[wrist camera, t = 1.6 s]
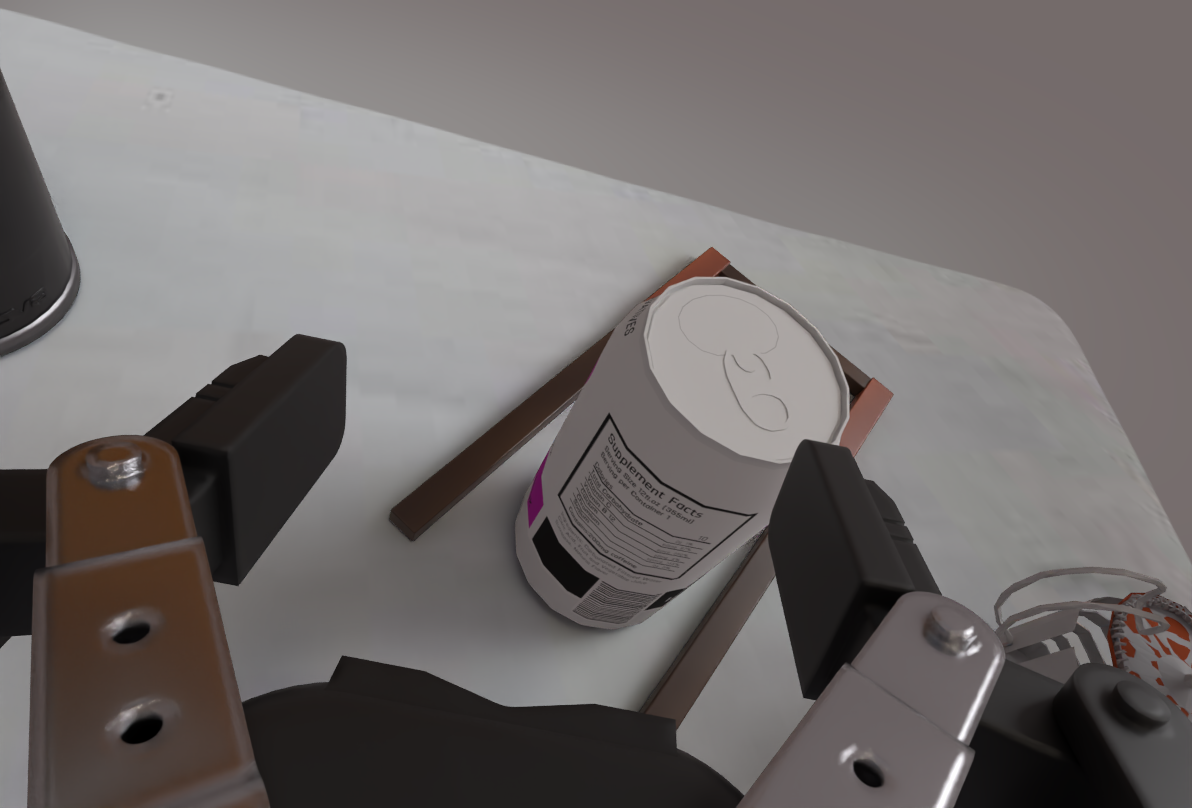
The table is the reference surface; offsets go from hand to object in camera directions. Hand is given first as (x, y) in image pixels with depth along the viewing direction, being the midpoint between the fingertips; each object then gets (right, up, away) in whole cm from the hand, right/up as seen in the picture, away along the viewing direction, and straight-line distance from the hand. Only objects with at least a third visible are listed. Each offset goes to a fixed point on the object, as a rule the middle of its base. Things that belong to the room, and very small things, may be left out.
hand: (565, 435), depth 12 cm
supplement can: (0, -6, +21) cm, 22 cm away
